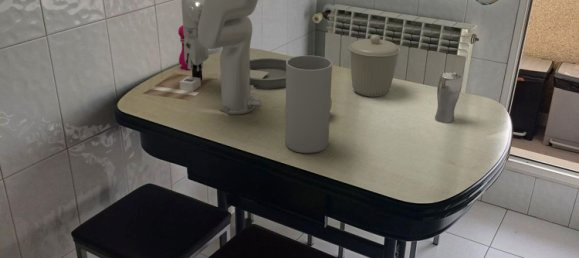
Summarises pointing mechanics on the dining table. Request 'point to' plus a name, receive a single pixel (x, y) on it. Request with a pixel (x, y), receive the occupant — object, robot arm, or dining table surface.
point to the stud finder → (190, 83)
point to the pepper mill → (181, 57)
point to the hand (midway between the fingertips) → (197, 80)
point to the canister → (373, 65)
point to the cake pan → (275, 69)
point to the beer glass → (447, 96)
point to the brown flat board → (177, 87)
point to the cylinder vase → (308, 103)
